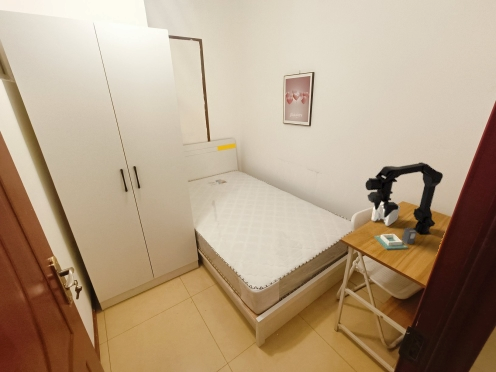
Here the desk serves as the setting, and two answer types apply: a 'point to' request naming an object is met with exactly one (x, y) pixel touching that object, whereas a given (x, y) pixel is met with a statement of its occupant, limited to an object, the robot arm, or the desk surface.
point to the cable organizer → (380, 214)
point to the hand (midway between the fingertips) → (380, 213)
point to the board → (390, 246)
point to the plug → (409, 235)
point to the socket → (391, 243)
